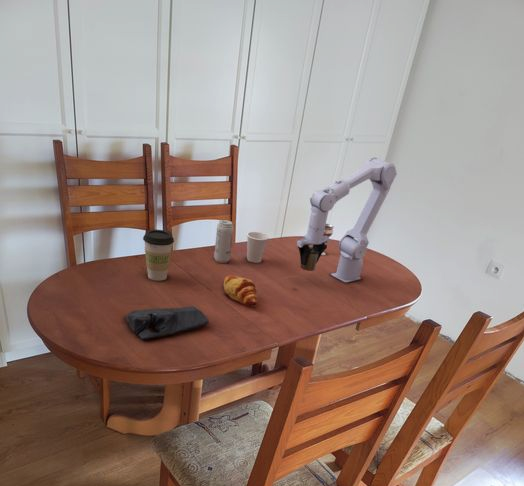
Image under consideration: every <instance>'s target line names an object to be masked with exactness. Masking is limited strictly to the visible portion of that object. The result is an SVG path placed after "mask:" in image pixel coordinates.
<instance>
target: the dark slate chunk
mask: <svg viewBox="0 0 524 486" xmlns="http://www.w3.org/2000/svg"><path fill="white" fill-rule="evenodd" d="M125 320H126V323H127V324H128V325H129V328H130V330H131V331H132V332H133V334H135V335H137V336H138V338H140V339H141V340H144V341H145V340H150V339H152V338H163V337H166V336H167V337H168V336H172V335H174V334H179V333H185V332H188V331H192V330H197V329H198V328H200V327H203V326H206V325H208V324H209V319H208V317H207V316H206V315H205V314H204V313H203V312H202V310H200V309H199V308H197V307H196V306H193V305H191V306H186V307H181V308H167V307H166V308H165V307H164V308H150V309H149V308H148V309H137V310H132V311H130V312H129V314H128V315H127V316H125ZM150 328H153V329H154V331H155V332H152V331H151V330H150Z"/></svg>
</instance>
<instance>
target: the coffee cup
mask: <svg viewBox="0 0 524 486" xmlns="http://www.w3.org/2000/svg"><path fill="white" fill-rule="evenodd" d="M142 240H143V242H144V253H145V254H144V255H145V264H146V269H147V270H146V271H147V277H148V279H149V280H152V281H157V282H158V281H159V282H160V281H165V280H167V278H168V272H169V268H170V264H171V263H170V262H171V256H172V251H173V249H172V248H173V244H174V242H175V239H174V237H173V233H172V232H169V231H167V230H163V229H148V230H147V231H145V233H144V235H143V237H142Z"/></svg>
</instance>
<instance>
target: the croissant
mask: <svg viewBox="0 0 524 486" xmlns="http://www.w3.org/2000/svg"><path fill="white" fill-rule="evenodd" d="M223 281H224V282H223V289H224V294H225V295H227V296H229V297H230V299H232V300H233V301H236V302H239V303H241V304H242V305H244V306H247V307H255V306H257V305H258V296H257V289H256V284H255V283H254V282H253V280H251V279H248V278H245V277H240V276H237V275H232V274H230V275H227V276H225V277H224V280H223Z"/></svg>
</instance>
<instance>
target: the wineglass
mask: <svg viewBox="0 0 524 486" xmlns="http://www.w3.org/2000/svg"><path fill="white" fill-rule="evenodd" d="M334 228H335V226H334V225H332V224H329V223H326V225H325V230H324V234H323V236H327V237H329V238H331V236H332V235H333V234H334ZM326 254H327V253H326V252H325V251H323V253H322V254H321V256H326Z"/></svg>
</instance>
